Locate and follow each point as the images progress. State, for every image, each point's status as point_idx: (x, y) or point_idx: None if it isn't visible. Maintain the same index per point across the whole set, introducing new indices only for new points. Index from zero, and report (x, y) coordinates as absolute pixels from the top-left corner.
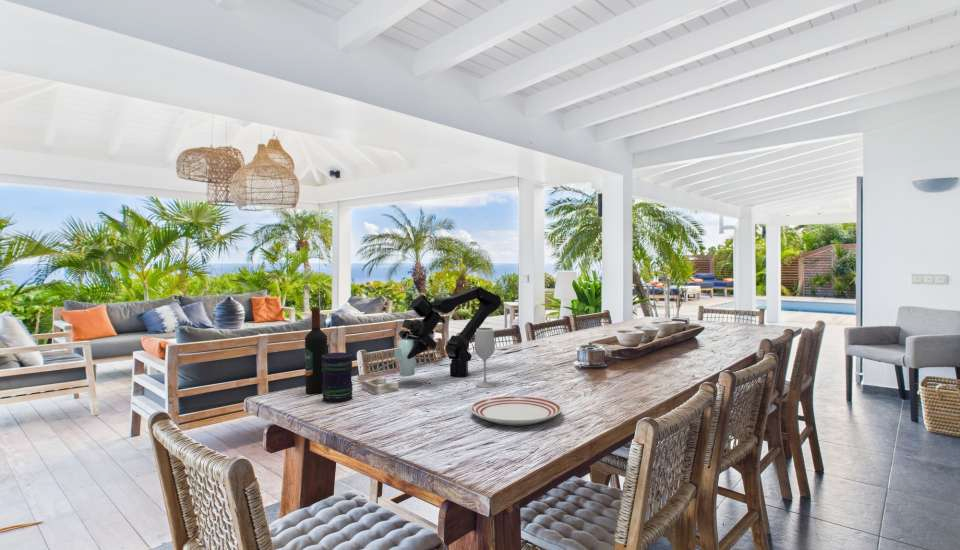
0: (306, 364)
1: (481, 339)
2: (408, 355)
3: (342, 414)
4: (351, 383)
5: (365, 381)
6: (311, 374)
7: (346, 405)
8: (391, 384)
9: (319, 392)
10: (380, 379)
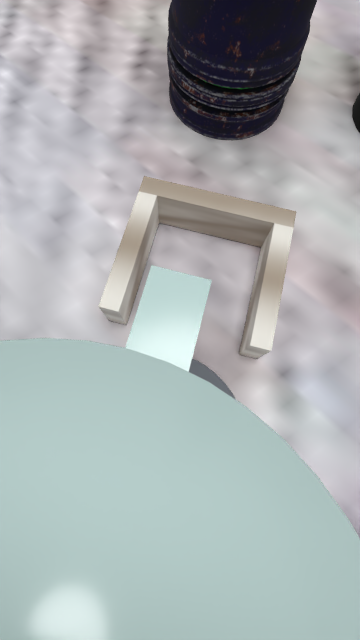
0: None
1: None
2: None
3: (62, 9)
4: (181, 42)
5: (273, 216)
6: None
7: (131, 66)
8: (115, 266)
9: (357, 98)
10: (256, 307)
